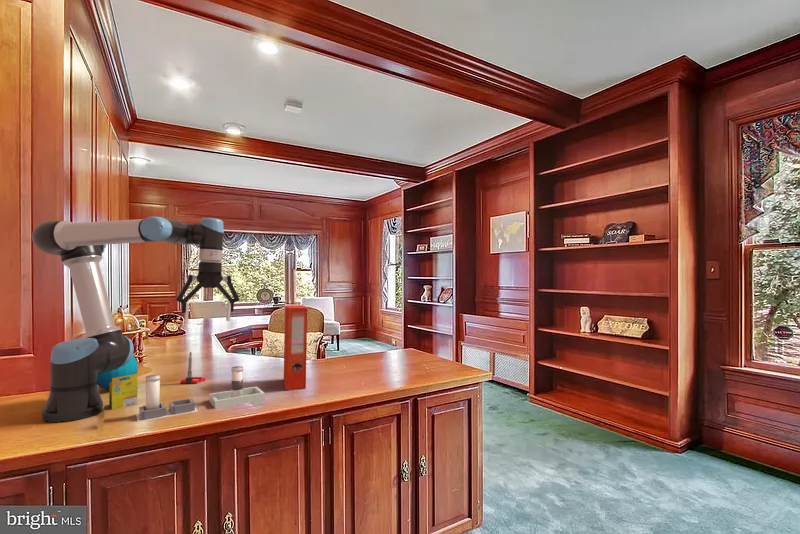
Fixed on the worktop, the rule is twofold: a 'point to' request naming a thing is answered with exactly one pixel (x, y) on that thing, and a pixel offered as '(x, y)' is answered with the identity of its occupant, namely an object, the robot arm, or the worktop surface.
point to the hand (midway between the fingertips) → (207, 321)
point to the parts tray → (237, 398)
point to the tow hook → (189, 377)
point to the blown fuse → (237, 381)
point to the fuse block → (167, 410)
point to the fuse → (152, 392)
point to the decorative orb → (117, 373)
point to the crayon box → (123, 392)
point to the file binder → (295, 347)
